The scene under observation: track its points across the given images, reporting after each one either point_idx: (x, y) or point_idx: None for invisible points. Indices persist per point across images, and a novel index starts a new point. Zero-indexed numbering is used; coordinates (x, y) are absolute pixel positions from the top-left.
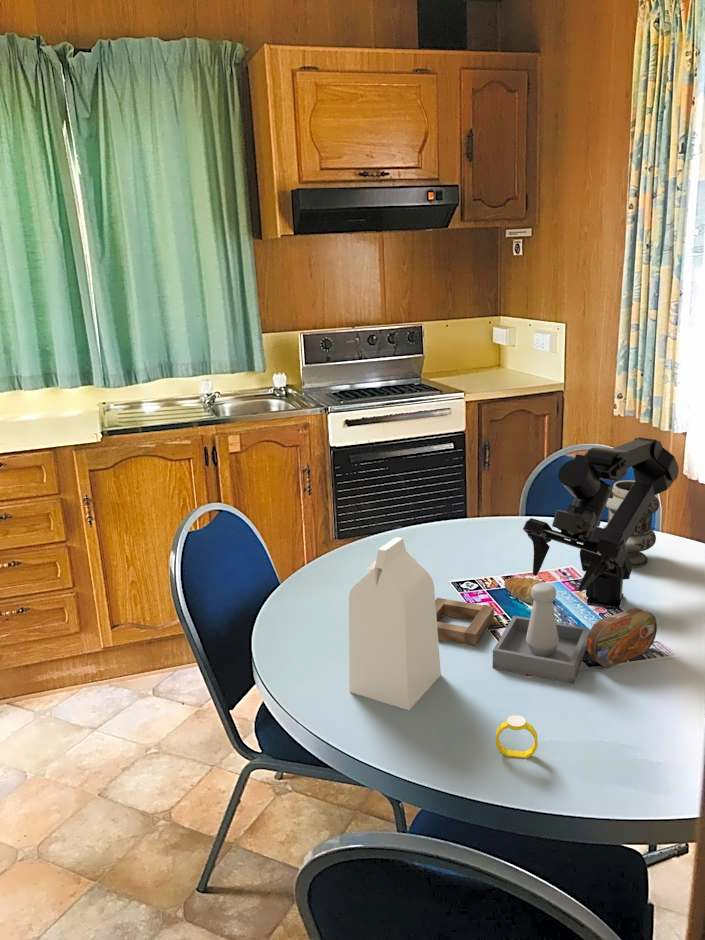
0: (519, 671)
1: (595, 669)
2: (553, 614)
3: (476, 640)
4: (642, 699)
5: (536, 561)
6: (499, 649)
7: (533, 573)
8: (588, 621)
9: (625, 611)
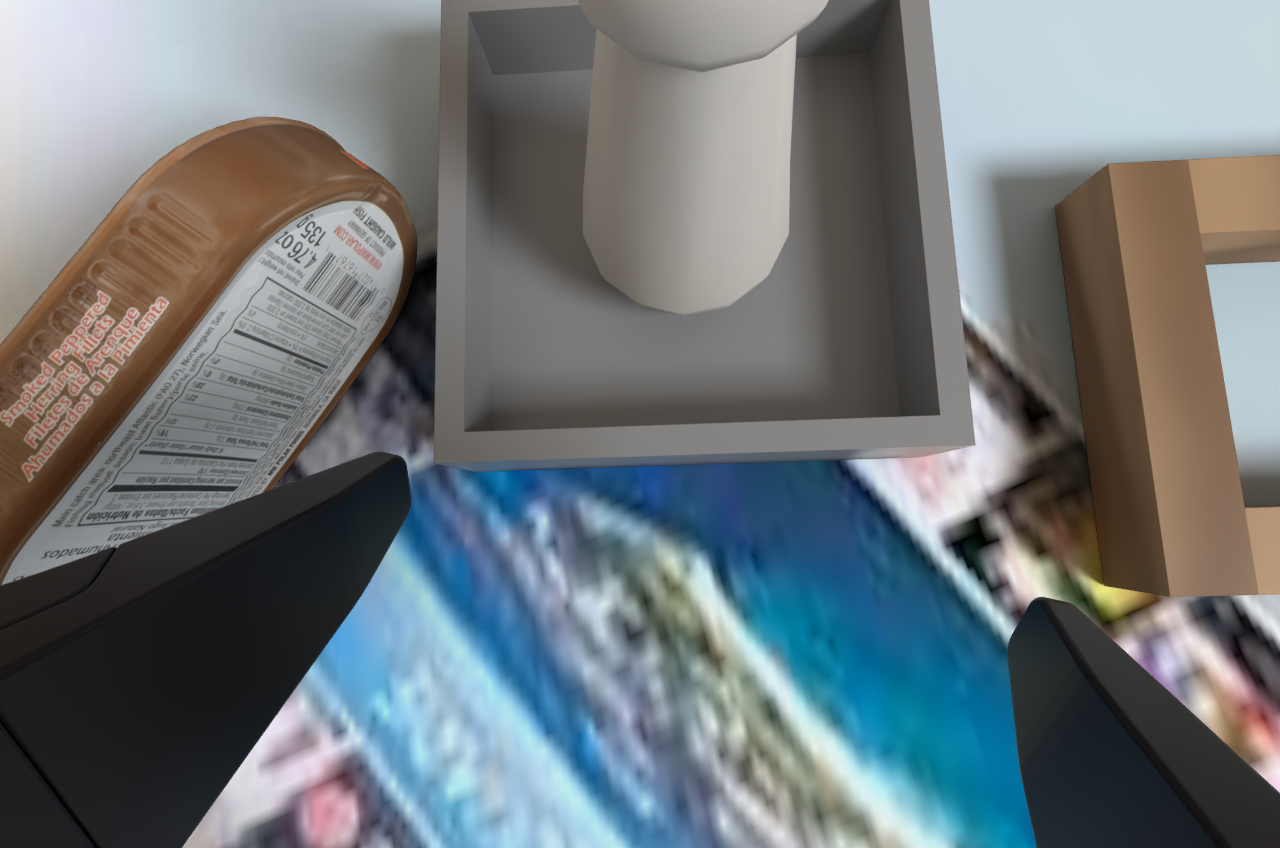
0: None
1: None
2: (598, 85)
3: (1077, 203)
4: (170, 80)
5: (1189, 759)
6: None
7: (1062, 603)
8: (522, 788)
9: (38, 457)
